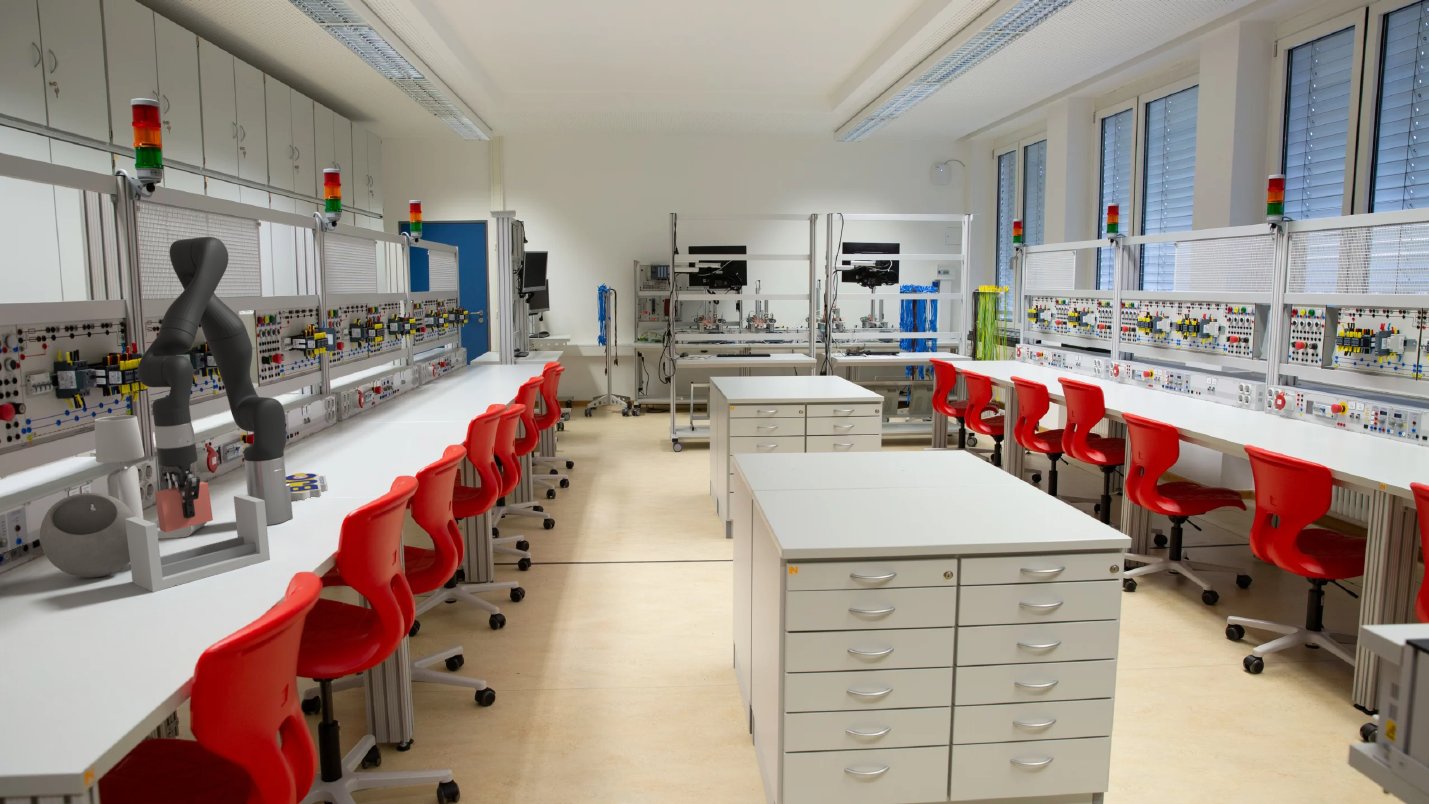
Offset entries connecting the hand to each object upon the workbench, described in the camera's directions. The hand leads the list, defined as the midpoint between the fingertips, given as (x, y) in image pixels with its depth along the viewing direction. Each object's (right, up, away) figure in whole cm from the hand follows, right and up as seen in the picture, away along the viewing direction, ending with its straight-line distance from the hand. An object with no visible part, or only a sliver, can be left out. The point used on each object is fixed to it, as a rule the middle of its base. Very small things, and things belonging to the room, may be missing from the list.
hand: (185, 515), depth 193 cm
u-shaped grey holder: (+9, -11, -8) cm, 16 cm away
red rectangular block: (0, -2, 0) cm, 2 cm away
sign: (-7, -1, +62) cm, 62 cm away
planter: (-12, -12, -11) cm, 21 cm away
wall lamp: (-20, -7, +20) cm, 29 cm away
